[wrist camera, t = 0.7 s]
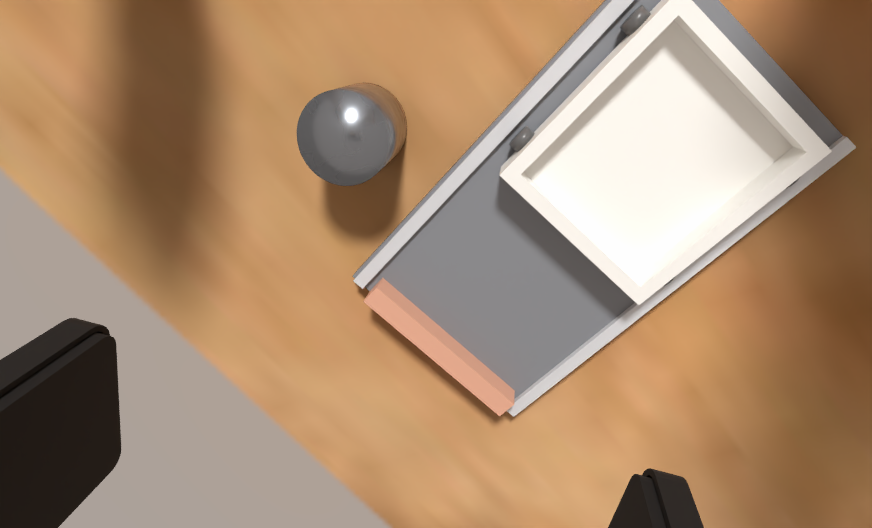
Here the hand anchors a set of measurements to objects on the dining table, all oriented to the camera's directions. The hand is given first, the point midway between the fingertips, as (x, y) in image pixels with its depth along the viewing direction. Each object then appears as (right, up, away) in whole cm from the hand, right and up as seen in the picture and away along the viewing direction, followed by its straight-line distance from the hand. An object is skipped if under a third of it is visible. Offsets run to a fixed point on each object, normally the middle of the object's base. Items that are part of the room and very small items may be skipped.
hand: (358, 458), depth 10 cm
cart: (+13, +9, +21) cm, 26 cm away
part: (-3, +12, +24) cm, 27 cm away
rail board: (+10, +6, +24) cm, 27 cm away
